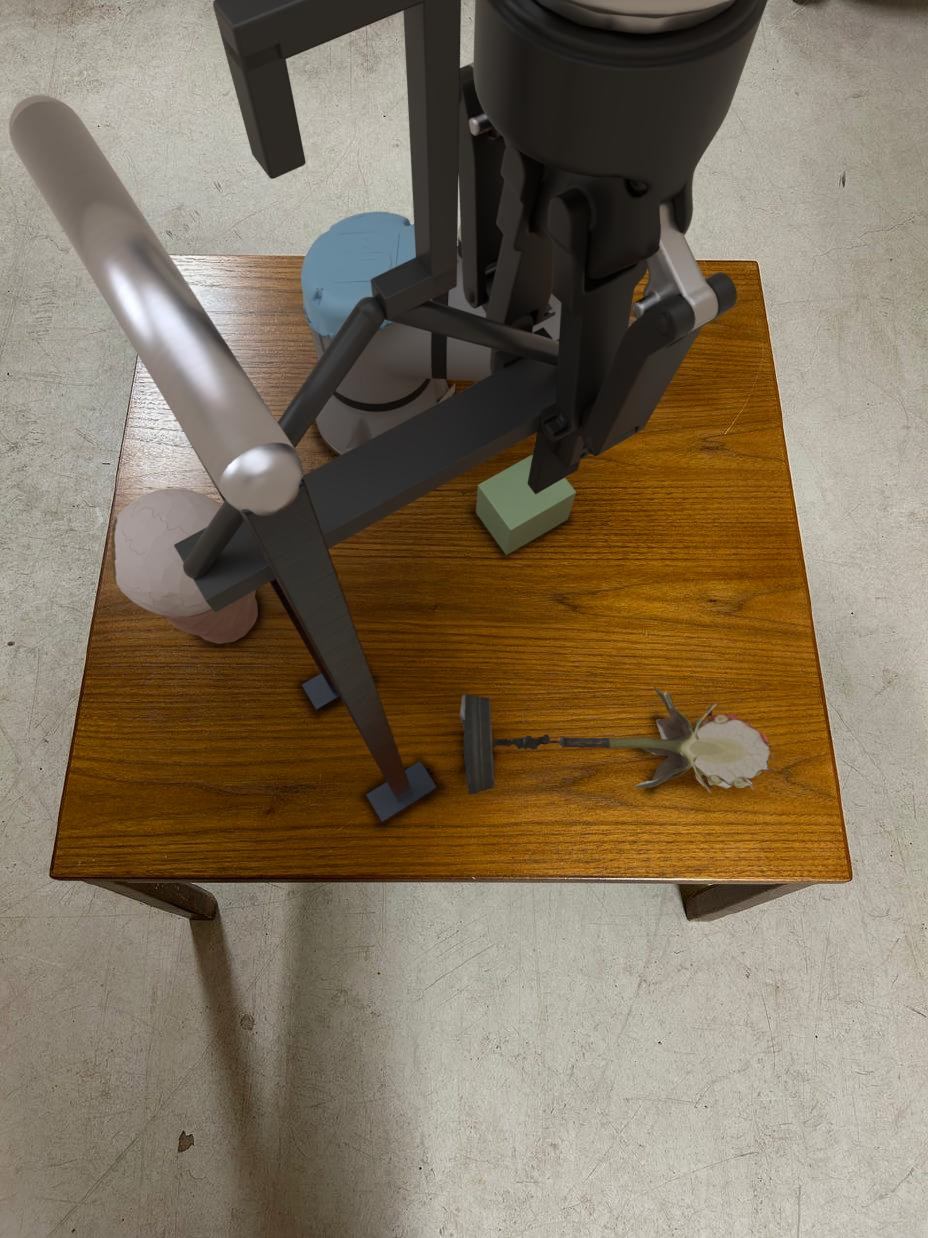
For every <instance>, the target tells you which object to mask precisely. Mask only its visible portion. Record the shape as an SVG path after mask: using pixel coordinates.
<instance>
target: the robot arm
mask: <svg viewBox="0 0 928 1238" xmlns="http://www.w3.org/2000/svg"><path fill="white" fill-rule="evenodd" d="M768 1H769V0H474V26H473V27H474V28H473V29H474V31H473V61H472V62H470V63H468V64H466V65H464V66H460V104H459V174H458V200H459V220H460V221H459V222H460V223H459V225H458V243H457V286H456V287H455V288H453V289H451V290H449V291H447V292H445V293H443V294H441V295H439V296H437V297H435V298H433V299H431V300H432V301H435V302H438V303H441V304H444V305H447V306H450V307H453V308H456V309H460V310H463V311H466V312H469V313H472V314H475V315H478V316H481V317H484V318H487V319H490V320H493V321H497V322H500V323H503V324H506V325H509V326H512V327H515V328H518V329H521V330H524V331H527V332H530V333H534V334H537V335H540V336H543V337H546V338H549V339H552V340H555V341H556V340H557V339H559V351H558V368H557V385H556V402H555V403H554V404H552V405H550V406H549V407H547V408H545V409H543V410H541V414H540V415H541V417H540V422H539V427H538V432H537V433H536V436H535V441H534V447H533V452H532V455H533V457H532V462H531V467H530V473H529V478H528V483H527V484H528V485H529V487H530V488H531V489H532V491H533V492H534V493H535V495H536V494H537V493H539V492H541V491H543V490H544V489H546V488H548V487H549V486H551V485H553V484H555V483H556V482H558V481H560V480H562V479H563V478H567V477H569V476H570V475H572V474H574V473H575V472H577V471H578V470H579V467H580V464H581V461H582V460H584V459H585V458H587V457H588V456H590V455H592V456H593V457H598V456H600V455H601V454H603V453H605V452H607V451H608V450H610V449H612V448H614V447H616V446H617V445H619V444H620V443H623V442H624V441H626V440H627V439H630V438H631V437H632V436H634V435H636V434H639V432H641V431H642V430H644V429H645V427H646V426H647V424H648V422H649V420H650V419H651V417H652V415H653V413H654V412H655V410H656V409H657V407H658V406H659V403H660V402H661V400H662V398H663V396H664V394H665V393H666V392H667V389H668V387H669V386H670V384H671V382H672V381H673V379H674V378H675V376H676V374H677V373H678V370H679V369H680V367H681V365H682V363H683V362H684V360H685V359H686V356H687V355H688V353H689V351H690V349H691V348H692V346H693V344H694V343H695V341H696V339H697V337H698V335H699V334H700V332H701V330H702V329H703V327H705V326H706V325H708V324H710V323H711V322H712V321H714V320H716V319H717V318H719V317H720V316H722V315H724V314H726V313H727V312H729V311H731V310H732V309H733V308H734V307H735V305H736V303H737V300H738V291H737V289H736V285H735V283H734V281H733V279H732V278H731V276H729V275H727V273H724V272H721V271H719V272H716V273H713V274H712V275H710V276H707V277H706V278H705V277H704V274H703V272H702V270H701V267H700V265H699V264H698V262H697V259H696V258H695V256H694V253H693V252H692V249H691V246H690V245H689V243H688V240H687V238H686V234H687V233H688V230H689V228H690V226H691V223H692V221H693V214H694V199H693V186H694V175H695V171H696V168H697V166H698V165H699V162H700V161H701V160H702V158H703V156H704V154H705V152H706V151H707V149H708V147H709V146H710V145H711V143H712V142H713V140H714V138H715V137H716V135H717V133H718V132H719V130H720V128H721V127H722V125H723V123H724V121H725V119H726V117H727V115H728V114H729V110H730V108H731V106H732V102H733V101H734V100H733V99H734V98H735V97H734V96H735V94H736V92H737V88H738V86H739V83H740V80H741V77H742V74H743V72H744V69H745V66H746V64H747V63H746V62H747V61H748V58H749V54H750V52H751V50H752V46H753V44H754V41H755V38H756V35H757V32H758V30H759V27H760V23H761V20H762V18H763V16H764V12H765V9H766V7H767V4H768ZM410 221H411V220H409V218H407V217H405V216H403V215H401V214H398V213H394V212H389V211H367V212H361V213H357V214H354V215H350V216H347V217H345V218H343V219H341V220H339V221H337V222H335V223H334V224H332V225H330V227H329V230H327V231H325V232H324V233H321V234H320V235H319V236H318V237H317V238H316V239H315V240H314V241H313V243H312V244H311V246H310V247H309V249H308V250H307V253H306V254H305V257H304V260H303V262H302V266H301V272H300V283H301V290H302V296H303V299H302V308H303V311H304V317H305V319H306V322H307V324H308V327H309V330H310V333H311V334H310V335H311V338H312V342H313V345H314V349H315V353H316V358H317V362H318V361H319V359H320V358H321V356H322V355H323V353H324V352H325V350H326V349H327V347H328V346H329V345H330V343H331V342H332V340H333V339H334V337H335V336H336V334H337V333H338V331H339V330H340V328H341V327H342V325H343V324H344V322H345V321H346V319H347V318H348V316H349V315H350V313H351V312H352V310H353V309H354V307H355V306H356V304H357V303H358V302H359V300H361V299H362V298H364V297H372V289H371V281H370V280H371V279H372V278H374V277H376V276H378V275H380V274H382V273H384V272H386V271H388V270H390V269H392V268H394V267H396V266H399V265H401V264H403V263H405V262H407V261H409V260H411V259H413V258H415V257H416V252H415V232H414V223H413V224H411V222H410ZM647 271H648V278H647V282H646V285H645V286H644V288H643V293H642V296H643V297H641V298H639V299H637V300H635V301H634V302H633V300H634V293H635V290H636V287H637V286H638V285H639V283H641V281H642V280H643V279H644V277H645V276H646V274H647ZM631 312H632V314H633V316H634V318H635V319H637V320H636V321H635V322H634V323H633V324H631V326H630V327H629V328H628V326H629V320H630V317H631ZM522 358H524V357H521V356H517V355H514V354H510V353H506V352H503V351H499V350H495V349H492V348H488V347H484V346H480V345H477V344H473V343H469V342H466V341H462V340H458V339H455V338H451V337H447V336H444V335H440V334H436V333H433V332H429V331H425V330H421V329H418V328H414V327H410V326H407V325H403V324H399V323H396V322H392V321H388V320H384V322H383V324H382V325H381V326H380V328H379V329H378V331H377V332H376V334H375V335H374V336H373V338H372V339H371V341H370V342H369V344H368V345H367V346H366V348H365V349H364V351H363V352H362V353H361V355H360V356H359V358H358V359H357V361H356V362H355V363H354V365H353V366H352V368H351V369H350V371H349V372H348V373H347V375H346V376H345V378H344V379H343V380H342V382H341V383H340V385H339V386H338V388H337V389H336V390H335V392H334V393H333V395H332V396H331V398H330V399H329V400H328V402H327V403H326V405H325V406H324V408H323V409H322V410H321V412H320V413H319V415H318V416H317V417H316V419H315V420H314V421H315V424H316V427H317V430H318V434H319V436H320V438H321V439H322V441H323V443H324V444H325V445H326V447H327V449H329V450H330V452H331V453H332V454H334V455H335V456H336V458H337V457H339V456H341V455H343V454H344V453H346V452H348V451H350V450H352V449H354V448H356V447H358V446H359V445H361V444H363V443H365V442H367V441H369V440H371V439H372V438H374V437H376V436H378V435H380V434H382V433H384V432H386V431H387V430H389V429H391V428H393V427H395V426H397V425H399V424H401V423H402V422H404V421H406V420H408V419H410V418H412V417H414V416H415V415H417V414H419V413H421V412H423V411H425V410H427V409H429V408H430V407H432V406H434V405H436V404H438V403H440V402H442V401H444V400H445V399H447V398H449V397H451V396H453V395H454V394H455V392H456V383H454V384H453V385H452V386H451V387H450V388H449V385H448V382H447V381H460V382H461V381H463V382H465V381H466V382H479V381H481V380H483V379H485V378H486V377H488V376H490V375H492V374H494V373H496V372H498V371H500V370H501V369H503V368H506V367H507V366H509V365H511V364H513V363H515V362H517V361H519V360H520V359H522Z"/></svg>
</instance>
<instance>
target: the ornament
mask: <svg viewBox="0 0 928 1238" xmlns="http://www.w3.org/2000/svg"><path fill="white" fill-rule="evenodd" d="M653 688H654V690H655V692H656V694H657V695H658V696H659V697H660V699H661V702H662V704H663V705H664V706H665V709H666V711H667V713H668V715H669V716H670V717H665V718H662V719H660V718H658V719H656V726H657V729H658V733H659V734H660V737H661V738H654V737H631V736H629V737H565V736H563V735H561V736H560V738H559V739H558V740H552V739H551V738H550V736H549V734H543V736H538V737H537V738H536V737H532V735H526V736H525V735H524V736H522V737H521V738H520V737H516V738H513V739H508V738H504V739H503V738H502V739H496V740H493V732H492V731H493V730H492V712H491V711H492V709H491V708H492V706H491V698H490V697H485V696H483V697H482V696H478V695H472V694H470V693H469V694H466V693H465V694H463V695H461V701H460V710H459V720H460V721H461V725H462V728H463V734H464V736H463V743H462V747H463V757H464V758H463V759H464V766H465V772H464V776H465V780H466V785H467V790H468V794H469V795H476V794H478V793H481V792H485V791H488V790H492V789H494V788H495V786H496V785H495V779H496V777H495V767H494V764H495V761H494V760H495V759H494V754H493V748H495V747H497V746H499V747H511V746H515V747H516V749H517V750H521V749H523V750H527V749H530V750H532V751H533V750H538V747H539V746H541V745H542V746H544V745H552V744H558V745H559V746H561V748H562V749H565V748H579V749H584V748H585V749H586V748H587V749H593V748H594V749H595V748H601V749H602V748H603V749H640V750H643V751H645V752H648V753H650V754H652V755H656V756H665V757H666V758H665V759H663V760H662V761H661V763H660V764H659V765H658V766H657V768H656V770H655V772H654V775H653V776H652V778H651V780H646V781H642V782H640V783H637V784H636V785H635V789H645V788H646V789H647V788H650V789H651V788H653V787H657V786H659V785H660V784H662V783H664V782H667V781H670V780H672V779H674V778H677V777H679V776H682V775H684V774H685V773H687V772H688V771H689V770H691V768H692V771H693V773H694V776H695V777H694V778H695V779H696V781H698V782H699V784H701V786H702V788H705V789H706V790H707V791H708V793H709V794H712V793H713V791H711V790H710V789H709V788H712V787H713V786H718V787H721V788H724V789H725V790H727V789H730V788H732V787H733V786H734V787H735V788H737V789H742V788H746V787H748V786H749V787H750V788H751V790H752V792H755V789H754V786H753V782H751V781H750V780H749V779H753V778H755V777H759V776H760V775H761V774H762V772H768V771H773V770H775V768H768V765H769V763H770V762H769V758H771V759H772V760H773V761H775V759H774V756H773V755H770V754H771V752H770V751H771V748H770V746H769V745H770V743H769V742H768V737H767V736H766V735H765V733H763V732H760V731H759V730H758V729H756V728H753V727H752V726H751V725H752V722H748V721H745V720H744V721H743V720H740V719H739V716H737V715H736V714H734V713H731V714H727V715H726V714H724V713H718V714H716V715H715V716H713V710H714V709H715V707H716V706H717V705H718V702H716V703H714V704H713V705H712V706H711V704H712V703H710V704H708V705H707V706H706V708H705V710H706V712H704V715H703V716H702V717H701V716H699V717H698V718H696V719H695V722H694V724H693V726H692V724H691V721H690V719H688V718H687V717H686V716H685V715H684V714H683V713H682V712H680V711H679V710H678V709H677V708H676V706H675V704H674V702H673V698H672V695H671V693H670V692H668V691H665V692H662V691H661V690H660V689H659V688H657V687H656V686H653ZM710 706H711V707H710ZM708 709H709V710H708ZM706 717H707V719H705V718H706ZM708 717H709V718H708ZM543 750H546V749H545V748H543ZM702 776H705V777H706V779H707V782H706V781H705V779H704V778H703V777H702ZM704 781H705V782H704Z"/></svg>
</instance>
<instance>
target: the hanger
mask: <svg viewBox="0 0 928 1238" xmlns="http://www.w3.org/2000/svg"><path fill="white" fill-rule="evenodd" d="M212 7H213V11H214V14H215V15H214V16H215V18H216V22H217V26H218V29H219V34H220V38H221V41H222V45H223V49H224V53H225V56H226V60H227V64H228V67H229V71H230V75H231V79H232V82H233V87H234V90H235V94H236V98H237V102H238V106H239V109H240V113H241V117H242V121H243V125H244V129H245V132H246V136H247V141H248V144H249V147H250V151H251V155H252V157H254V159H255V160H256V162H257V163H258V164H259V166H260V168H262V171H264V172H265V174H266V175H267V176H268V178H269V179H271V180H274V179H277V178H279V177H281V176H283V175H285V174H287V173H290V172H292V171H295V170H297V169H299V168H301V167H304V166H305V165H306V156H305V151H304V146H303V141H302V135H301V131H300V126H299V121H298V116H297V115H298V114H297V110H296V105H295V99H294V95H293V89H292V84H291V78H290V74H289V69H288V64H287V59H289V58H292V57H295V56H296V55H299V54H302V53H304V52H307V51H309V50H311V49H314V48H317V47H319V46H321V45H323V44H326V43H328V42H331V41H334V40H336V39H339V38H341V37H343V36H346V35H348V34H350V33H353V32H355V31H358V30H360V29H363V28H365V27H367V26H369V25H372V24H374V23H377V22H380V21H382V20H384V19H386V18H389V17H391V16H394V15H396V14H399V13H401V12H402V14H403V31H404V32H403V33H404V51H405V52H404V53H405V69H406V70H405V73H406V86H407V87H406V89H407V90H406V91H407V92H406V94H407V112H408V129H409V131H408V132H409V149H410V150H409V151H410V169H411V171H410V173H411V189H412V192H411V193H412V208H413V210H412V211H413V224H414V232H415V252H416V257H415V258H413V259H411V260H409V261H407V262H405V263H403V264H401V265H399V266H396V267H394V268H392V269H390V270H388V271H386V272H384V273H382V274H380V275H378V276H376V277H374V278H372V279H371V280H370V281H371V289H372V297H364V298H362V299H361V300H359V302H358V303H357V304H356V306H355V307H354V309H353V310H352V312H351V313H350V315H349V316H348V318H347V319H346V321H345V322H344V324H343V325H342V327H341V328H340V330H339V331H338V333H337V334H336V336H335V337H334V339H333V340H332V342H331V343H330V345H329V346H328V347H327V349H326V350H325V352H324V353H323V355H322V356H321V358H320V359H319V361H318V360H317V362H316V364H315V365H314V366H313V368H312V370H311V371H310V372H309V374H308V376H307V378H306V379H305V380H304V382H303V383H302V385H301V386H300V388H299V389H298V391H297V392H296V393H295V395H294V397H293V398H292V399H291V401H290V402H289V404H288V406H287V407H286V408H285V410H284V412H283V413H282V415H281V416H280V418H279V419H278V420H277V422H278V424H279V425H280V427H281V428H282V430H283V431H284V433H285V435H286V436H287V438H288V439H289V441H290V442H291V444H292V445H293V447H294V448H295V449H296V448H297V446H298V445H299V443H300V442H301V441H302V439H303V437H304V436H305V434H306V433H307V432H308V431H309V429H310V427H311V426H312V425H313V424H314V422H315V421H316V420H315V419H316V417H317V416H318V415H319V413H320V412H321V410H322V409H323V408H324V406H325V405H326V403H327V402H328V400H329V399H330V398H331V396H332V395H333V393H334V392H335V390H336V389H337V388H338V386H339V385H340V383H341V382H342V380H343V379H344V378H345V376H346V375H347V373H348V372H349V371H350V369H351V368H352V366H353V365H354V363H355V362H356V361H357V359H358V358H359V356H360V355H361V353H362V352H363V351H364V349H365V348H366V346H367V345H368V344H369V342H370V341H371V339H372V338H373V336H374V335H375V334H376V332H377V331H378V329H379V328H380V326H381V325H382V324H383V322H384V320H388V321H392V322H396V323H399V324H403V325H407V326H410V327H414V328H418V329H421V330H425V331H429V332H433V333H436V334H440V335H444V336H447V337H451V338H455V339H458V340H462V341H466V342H469V343H473V344H477V345H480V346H484V347H488V348H492V349H495V350H499V351H503V352H506V353H510V354H514V355H517V356H521V357H524V358H522V359H520V360H519V361H517V362H515V363H513V364H511V365H509V366H507V367H506V368H503V369H501V370H500V371H498V372H496V373H494V374H492V375H490V376H488V377H486V378H485V379H483V380H481V381H476V383H474V384H471V385H470V386H468V387H466V388H464V389H462V390H460V391H458V392H457V393H454V394H452V396H451V397H449V398H447V399H445V400H444V401H442V402H440V403H438V404H436V405H434V406H432V407H430V408H429V409H427V410H425V411H423V412H421V413H419V414H417V415H415V416H414V417H412V418H410V419H408V420H406V421H404V422H402V423H401V424H399V425H397V426H395V427H393V428H391V429H389V430H387V431H386V432H384V433H382V434H380V435H378V436H376V437H374V438H372V439H371V440H369V441H367V442H365V443H363V444H361V445H359V446H358V447H356V448H354V449H352V450H350V451H348V452H346V453H344V454H343V455H341V456H339V457H337V456H336V457H335V458H333V459H331V460H329V461H328V462H326V463H323V464H322V465H321V466H318V467H316V468H314V469H313V470H310V471H309V472H307V473H305V474H303V480H304V481H305V483H306V486H307V489H308V492H309V495H310V498H311V501H312V504H313V506H314V509H315V512H316V515H317V518H318V521H319V524H320V527H321V530H322V532H323V535H324V538H325V541H326V544H327V547H328V550H330V549H331V548H333V547H336V546H337V545H339V544H341V543H343V542H344V541H346V540H347V539H349V538H351V537H353V536H354V535H357V534H359V533H360V532H362V531H364V530H366V529H367V528H369V527H371V526H372V525H374V524H376V523H378V522H380V521H381V520H383V519H385V518H387V517H388V516H390V515H392V514H394V513H395V512H397V511H399V510H401V509H403V508H405V507H406V506H408V505H411V503H414V502H415V501H417V500H419V499H420V498H422V497H424V496H426V495H428V494H430V493H431V492H433V491H436V489H439V488H441V487H442V486H444V485H445V484H447V483H449V482H451V481H453V480H454V479H457V478H458V477H460V476H462V475H463V474H466V473H467V472H469V471H471V470H472V469H474V468H476V467H478V466H480V465H481V464H483V463H485V462H486V461H489V460H490V459H492V458H494V457H496V456H498V455H500V454H501V453H503V452H505V451H506V450H508V449H510V448H512V447H513V446H515V445H517V444H519V443H521V442H522V441H524V440H526V439H528V438H530V437H532V436H533V435H535V434H537V432H538V427H539V422H540V417H541V415H540V414H541V410H543V409H545V408H547V407H549V406H550V405H552V404H554V403H555V402H556V385H557V368H558V351H559V339H557V340H556V341H555V340H552V339H549V338H546V337H543V336H540V335H537V334H534V333H530V332H527V331H524V330H521V329H518V328H515V327H512V326H509V325H506V324H503V323H500V322H497V321H493V320H490V319H487V318H484V317H481V316H478V315H475V314H472V313H469V312H466V311H463V310H460V309H456V308H453V307H450V306H447V305H444V304H441V303H438V302H435V301H432V300H431V299H433V298H435V297H437V296H439V295H441V294H443V293H445V292H447V291H449V290H451V289H453V288H455V287H456V286H457V246H458V229H459V104H460V68H461V34H462V33H461V31H462V30H461V27H462V25H461V24H462V18H461V17H462V0H213V1H212ZM221 505H222V506H221V507H220V509H219V510H218V512H217V513H216V515H215V516H214V518H213V519H212V520H211V522H210V523H209V525H208V526H207V527H206V528H204V529H202V530H201V531H199V532H197V533H195V534H193V535H191V536H189V537H187V538H186V539H184V540H182V541H180V542H178V543H176V544H174V547H175V549H176V550H177V552H178V554H179V556H180V557H181V559H182V561H183V570H184V572H185V574H186V575H187V576H188V577H190V578H192V579H193V580H194V582H195V583H196V585H197V587H198V589H199V590H200V592H201V594H202V596H203V597H204V599H205V601H206V602H207V603H208V604H209V606H210V607H211V608H212V609H213V610H214V612H217V611H219V610H221V609H223V608H224V607H226V606H228V605H230V604H232V603H233V602H235V601H237V600H239V599H240V598H242V597H244V596H246V595H248V594H249V593H251V592H253V591H255V590H256V591H257V590H258V589H261V588H262V587H263V586H266V585H267V584H270V582H271V581H273V580H274V579H276V578H275V576H274V574H273V572H272V570H271V569H270V567H269V565H268V563H267V561H266V559H265V558H264V556H263V554H262V552H261V550H260V548H259V547H258V545H257V543H256V541H255V539H254V537H253V535H252V534H251V532H250V530H249V528H248V526H247V524H246V523H245V521H244V519H243V517H242V515H241V513H240V512H239V510H238V509H236V508H234V507H233V506H232V505H231V504H229V503H228V502H227V500H225V501H224V502H223V503H222V504H221Z"/></svg>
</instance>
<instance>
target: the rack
mask: <svg viewBox="0 0 928 1238" xmlns="http://www.w3.org/2000/svg"><path fill="white" fill-rule="evenodd" d="M8 122H9V123H8V130H9V131H8V132H9V137H10V142H11V144H12V146H13V149H14V151H15V153H16V154H17V156H18V158H19V159H20V161H21V163H22V164H23V166H24V167H25V169H26V171H27V173H28V174H29V176H30V178H31V180H32V181H33V183H34V184H35V186H36V188H37V189H38V191H39V194H41V197H43V199H44V201H45V203H46V205H47V206H48V208H49V210H50V211H51V213H52V214H53V216H54V218H55V219H56V221H57V223H58V225H59V226H60V227H61V229H62V231H63V233H64V235H65V236H66V237H67V240H68V241H69V243H70V245H71V246H72V249H74V251H75V252H76V255H77V257H79V259H80V261H81V263H82V264H83V266H84V267H85V269H86V271H87V273H88V274H89V276H90V278H91V279H92V281H93V283H94V284H95V287H97V289H98V291H99V293H100V295H101V296H102V297H103V299H104V302H106V304H107V306H108V308H109V309H110V312H111V313H112V314H113V315H114V317H115V319H116V322H118V324H119V326H120V328H121V329H122V332H123V333H124V334H125V336H126V337H127V339H128V341H129V343H130V344H131V346H132V348H133V349H134V351H135V353H136V355H137V356H138V357H139V359H140V361H141V363H142V364H143V366H144V368H145V370H146V371H147V372H148V374H149V376H150V378H151V379H152V381H153V383H154V384H155V386H156V388H157V389H158V391H159V392H160V394H161V397H163V399H164V401H165V402H166V404H167V406H168V408H169V409H170V411H171V413H172V414H173V416H174V418H175V419H176V421H177V423H178V425H179V426H180V429H181V430H182V432H183V434H184V435H185V437H186V439H187V440H188V442H189V444H190V446H191V447H192V449H193V452H194V453H195V455H196V456H197V458H198V460H199V462H200V463H201V465H202V467H203V469H204V470H205V472H206V474H207V476H208V477H209V479H210V481H211V483H212V484H213V486H214V488H215V489H216V491H217V494H218V495H219V497H220V498H221V501H222V502H223V503H224V501H225V500H227V502H228V503H229V504H231V505H232V506H233V507H234V508H236V509H238V510H239V512H240V513H241V515H242V517H243V519H244V521H245V523H246V524H247V526H248V528H249V530H250V532H251V534H252V535H253V537H254V539H255V541H256V543H257V545H258V547H259V548H260V550H261V552H262V554H263V556H264V558H265V559H266V561H267V563H268V565H269V567H270V569H271V570H272V572H273V574H274V576H275V578H276V579H274V580H273V581H271V582H269V584H270V586H271V588H272V589H273V591H274V593H275V595H276V596H277V598H278V600H279V602H280V604H281V606H282V607H283V609H284V611H285V612H286V614H287V616H288V618H289V619H290V621H291V623H292V625H293V626H294V628H295V630H296V631H297V633H298V635H299V637H300V639H301V640H302V642H303V644H304V646H305V647H306V649H307V651H308V652H309V654H310V656H311V658H312V659H313V661H314V664H315V665H316V666H317V668H318V671H319V672H320V673H319V674H317V675H316V676H314V677H312V678H310V679H308V680H307V681H305V682H303V683H302V684H301V687H302V689H303V690H304V692H305V694H306V695H307V697H308V699H309V700H310V702H311V704H312V706H313V707H314V709H315V711H316V712H317V713H321V712H322V711H323V710H326V709H327V708H328V707H330V706H332V705H334V704H335V703H337V702H339V701H340V700H341V701H342V703H343V705H344V707H345V709H346V710H347V712H348V714H349V716H350V718H351V719H352V722H353V723H354V725H355V727H356V729H357V731H358V733H359V735H360V736H361V738H362V740H363V741H364V743H365V746H366V747H367V749H368V751H369V753H370V755H371V756H372V758H373V760H374V762H375V764H376V766H377V767H378V769H379V771H380V773H381V775H382V776H383V778H384V780H385V782H383V783H382V784H380V785H378V786H377V787H375V788H374V789H372V790H370V791H369V792H368V793H366V794H365V796H366V798H367V800H368V801H369V803H370V804H371V807H372V808H373V810H374V812H375V813H376V816H377V817H378V819H379V820H380V822H381V823H382V824H384V823H386V822H388V821H389V820H391V819H393V818H394V817H396V816H397V815H399V814H401V813H402V812H404V811H405V810H406V809H408V808H410V807H411V806H413V805H415V804H416V803H417V802H419V801H421V800H422V799H424V798H425V797H427V796H428V795H430V794H432V793H433V792H435V791H436V790H437V789H438V786H437V784H436V782H435V781H434V780H433V778H432V776H431V775H430V773H429V772H428V770H427V768H426V766H425V765H424V763H423V762H422V760H418V761H417V762H415V763H414V764H412V765H410V766H409V767H407V768H405V765H404V763H403V760H402V757H401V755H400V751H399V749H398V746H397V743H396V740H395V738H394V737H395V736H394V733H393V731H392V729H391V726H390V722H389V720H388V717H387V714H386V711H385V709H384V706H383V703H382V700H381V697H380V694H379V691H378V687H377V686H376V682H375V680H374V677H373V674H372V671H371V668H370V665H369V663H368V660H367V659H368V658H367V656H366V653H365V650H364V648H363V645H362V642H361V639H360V637H359V634H358V630H357V628H356V624H355V622H354V619H353V615H352V613H351V610H350V608H349V605H348V602H347V599H346V596H345V593H344V590H343V588H342V585H341V583H340V582H341V581H340V578H339V576H338V573H337V570H336V567H335V564H334V560H333V559H332V556H331V553H330V549H328V547H327V544H326V541H325V538H324V535H323V532H322V530H321V527H320V524H319V521H318V518H317V515H316V512H315V509H314V506H313V504H312V501H311V498H310V495H309V492H308V489H307V486H306V483H305V481H304V480H303V475H304V469H303V464H302V460H301V458H300V456H299V454H298V452H297V450H296V447H295V448H294V447H293V445H292V444H291V442H290V441H289V439H288V438H287V436H286V435H285V433H284V431H283V430H282V428H281V427H280V425H279V424H278V420H277V418H275V416H274V414H273V413H272V411H271V410H270V408H269V407H268V405H267V403H266V402H265V401H264V399H263V398H262V396H261V394H260V393H259V391H258V390H257V389H256V388H257V387H255V385H254V384H253V382H252V381H251V379H250V377H249V376H248V375H247V372H245V369H244V367H242V365H241V363H240V362H239V361H238V358H236V355H234V353H233V352H232V350H231V348H230V347H229V345H228V344H227V342H226V341H225V339H224V338H223V336H222V334H221V332H220V331H219V330H218V328H217V326H216V325H215V323H214V322H213V320H212V318H211V317H210V316H209V314H208V313H207V311H206V309H205V308H204V306H203V304H201V302H200V301H199V299H198V298H197V295H196V294H195V293H194V291H193V289H192V288H191V286H190V285H189V283H188V282H187V280H186V278H185V277H184V276H183V274H182V273H181V271H180V269H179V268H178V266H177V265H176V263H175V262H174V260H173V258H172V257H171V256H170V254H169V252H168V251H167V249H166V248H165V247H164V245H163V243H162V241H161V240H160V239H159V237H158V236H157V234H156V233H155V231H154V229H153V228H152V227H151V225H150V223H149V222H148V220H147V219H146V217H145V216H144V214H143V212H142V211H141V209H140V208H139V206H138V204H137V203H136V202H135V200H134V198H133V197H132V196H131V194H130V193H129V191H128V189H127V188H126V186H125V184H124V183H123V182H122V180H121V179H120V177H119V175H118V174H117V173H116V171H115V169H114V168H113V166H112V165H111V163H110V162H109V160H108V159H107V156H106V155H105V154H104V152H103V151H102V149H101V148H100V146H99V145H98V143H97V141H96V140H95V138H94V137H93V136H92V133H91V132H90V131H89V130H88V128H87V126H86V124H85V123H84V122H83V120H82V119H81V117H80V116H79V115H78V114H77V113H76V111H75V110H74V109H73V108H72V107H70V106H69V105H68V104H66V103H65V102H63V101H61V100H60V99H57V98H56V97H53V96H50V95H42V94H41V95H40V94H38V95H37V94H36V95H31V96H27V97H25V98H23V99H22V100H20V101H19V102H18V103H17V104H16V106H15V107H14V108H13V110H12V113H11V115H10V116H9V121H8Z"/></svg>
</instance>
